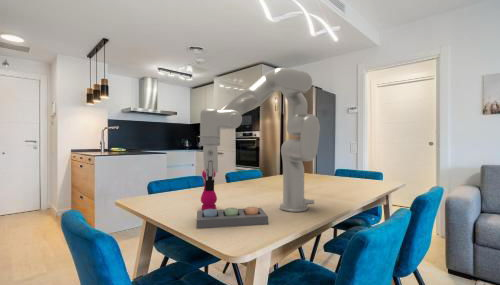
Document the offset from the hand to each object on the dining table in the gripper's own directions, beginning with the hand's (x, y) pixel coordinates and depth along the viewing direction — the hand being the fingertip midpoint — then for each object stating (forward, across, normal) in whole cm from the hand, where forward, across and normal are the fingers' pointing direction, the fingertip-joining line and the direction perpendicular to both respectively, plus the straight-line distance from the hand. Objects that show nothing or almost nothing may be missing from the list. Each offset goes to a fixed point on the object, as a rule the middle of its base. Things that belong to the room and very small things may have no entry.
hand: (209, 190), depth 97 cm
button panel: (+12, 0, -8) cm, 15 cm away
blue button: (+11, 0, 0) cm, 11 cm away
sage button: (+11, 0, -8) cm, 14 cm away
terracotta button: (+10, 0, -16) cm, 19 cm away
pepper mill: (+12, +19, 0) cm, 23 cm away
